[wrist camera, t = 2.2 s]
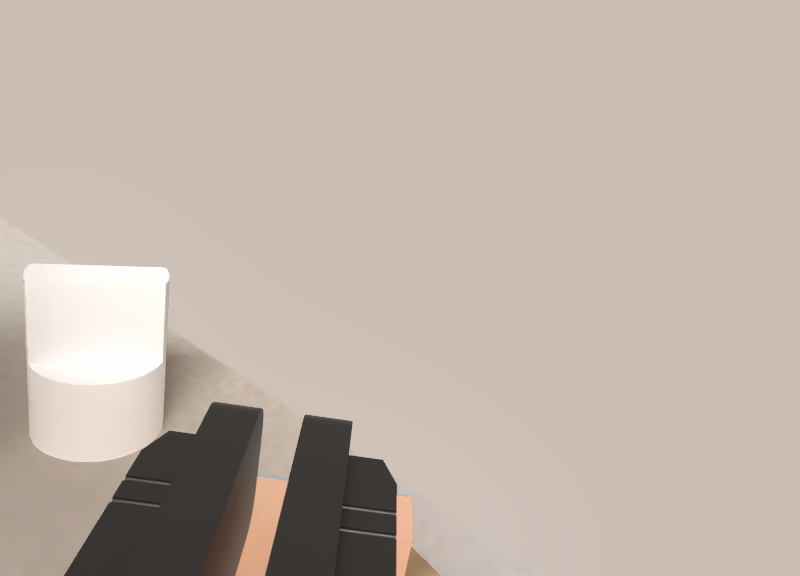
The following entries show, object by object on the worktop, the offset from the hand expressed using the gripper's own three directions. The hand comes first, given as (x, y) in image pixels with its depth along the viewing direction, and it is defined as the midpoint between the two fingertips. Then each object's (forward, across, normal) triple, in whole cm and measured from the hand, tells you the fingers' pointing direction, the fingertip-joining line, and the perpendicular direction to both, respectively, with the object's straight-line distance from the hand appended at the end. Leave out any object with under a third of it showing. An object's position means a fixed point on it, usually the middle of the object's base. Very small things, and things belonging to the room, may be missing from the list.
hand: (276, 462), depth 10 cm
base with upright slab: (+34, +17, +24) cm, 45 cm away
